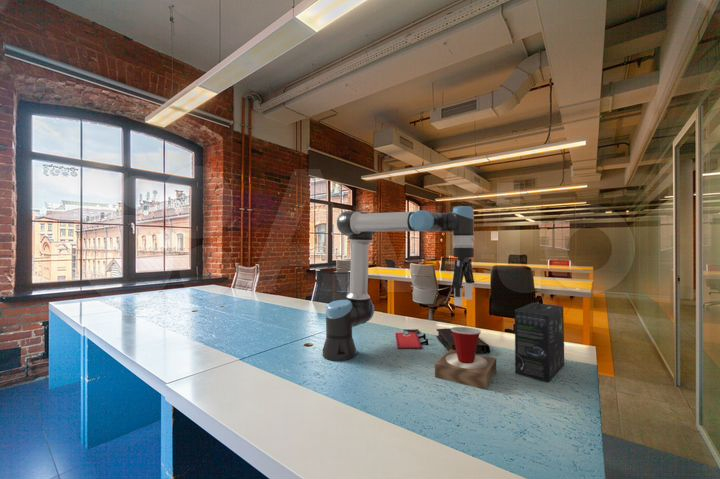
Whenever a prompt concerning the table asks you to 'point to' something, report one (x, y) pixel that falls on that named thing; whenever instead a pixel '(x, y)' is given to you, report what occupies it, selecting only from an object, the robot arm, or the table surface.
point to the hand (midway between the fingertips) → (463, 302)
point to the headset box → (539, 340)
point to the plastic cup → (465, 343)
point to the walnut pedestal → (466, 370)
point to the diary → (448, 341)
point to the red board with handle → (410, 339)
